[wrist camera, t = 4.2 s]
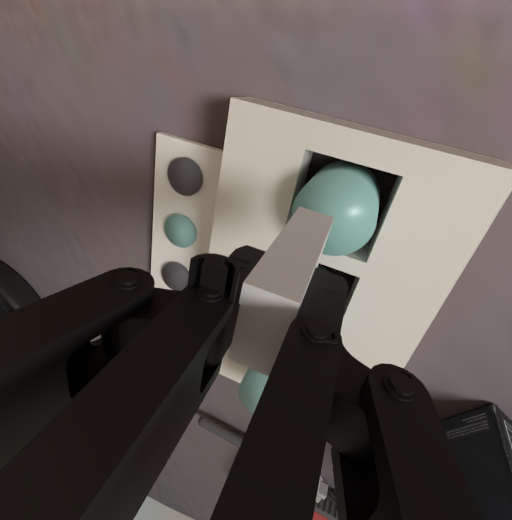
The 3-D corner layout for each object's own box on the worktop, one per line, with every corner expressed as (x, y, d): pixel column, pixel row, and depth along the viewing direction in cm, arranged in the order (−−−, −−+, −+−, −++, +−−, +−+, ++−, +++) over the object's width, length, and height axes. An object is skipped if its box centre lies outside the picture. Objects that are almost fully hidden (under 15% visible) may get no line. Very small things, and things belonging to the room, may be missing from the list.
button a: (254, 365, 26) (234, 406, 23) (265, 325, 24) (244, 363, 21) (306, 388, 25) (292, 434, 22) (322, 348, 23) (310, 392, 20)
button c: (300, 217, 22) (283, 240, 18) (319, 151, 19) (303, 164, 16) (365, 238, 21) (359, 266, 17) (391, 172, 19) (391, 189, 15)
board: (210, 339, 30) (193, 362, 28) (251, 96, 20) (230, 97, 17) (364, 405, 27) (361, 438, 25) (504, 160, 17) (522, 172, 15)
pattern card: (154, 284, 30) (148, 289, 29) (161, 131, 23) (153, 133, 22) (204, 305, 29) (199, 310, 28) (227, 151, 22) (221, 153, 21)
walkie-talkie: (395, 503, 31) (207, 402, 35) (395, 558, 28) (184, 439, 31) (356, 539, 36) (193, 446, 39) (351, 590, 32) (172, 483, 36)
